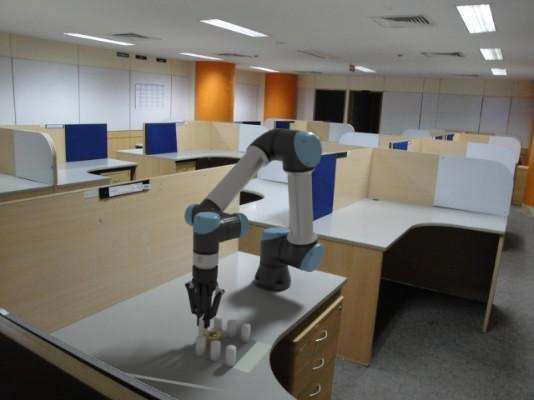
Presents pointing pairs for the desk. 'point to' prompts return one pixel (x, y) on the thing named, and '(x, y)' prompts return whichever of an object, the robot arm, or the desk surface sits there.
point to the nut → (212, 337)
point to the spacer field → (231, 347)
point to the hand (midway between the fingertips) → (203, 336)
